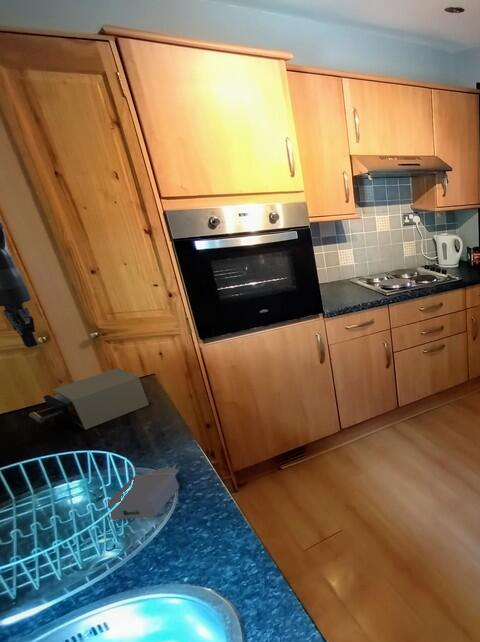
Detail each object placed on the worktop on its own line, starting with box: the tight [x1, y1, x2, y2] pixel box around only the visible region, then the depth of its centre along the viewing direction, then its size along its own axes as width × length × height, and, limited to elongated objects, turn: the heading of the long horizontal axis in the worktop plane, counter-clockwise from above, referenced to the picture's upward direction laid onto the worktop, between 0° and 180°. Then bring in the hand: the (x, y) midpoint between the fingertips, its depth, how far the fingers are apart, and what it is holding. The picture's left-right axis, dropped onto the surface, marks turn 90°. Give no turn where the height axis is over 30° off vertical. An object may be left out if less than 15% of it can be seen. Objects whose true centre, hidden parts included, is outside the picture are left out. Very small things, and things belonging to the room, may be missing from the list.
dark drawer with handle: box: [28, 394, 82, 432], centre depth 130 cm, size 19×12×8 cm, turn 151°
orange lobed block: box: [53, 394, 77, 416], centre depth 127 cm, size 8×4×3 cm
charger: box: [104, 464, 180, 521], centre depth 102 cm, size 5×9×15 cm
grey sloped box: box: [52, 368, 150, 430], centre depth 134 cm, size 16×13×10 cm
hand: (31, 346), depth 125 cm, fingers closed
